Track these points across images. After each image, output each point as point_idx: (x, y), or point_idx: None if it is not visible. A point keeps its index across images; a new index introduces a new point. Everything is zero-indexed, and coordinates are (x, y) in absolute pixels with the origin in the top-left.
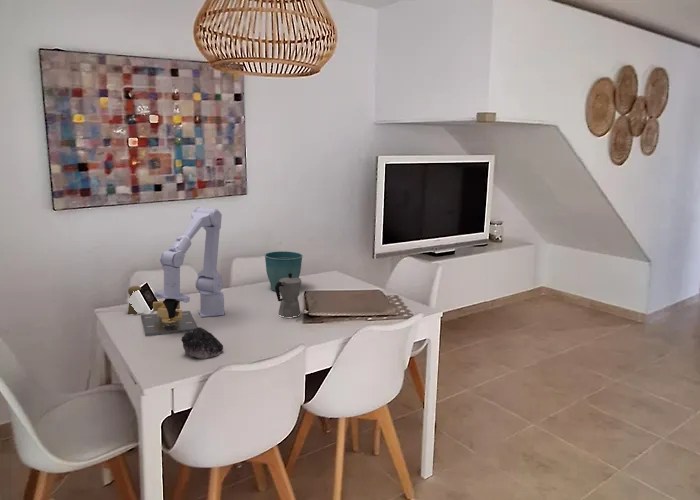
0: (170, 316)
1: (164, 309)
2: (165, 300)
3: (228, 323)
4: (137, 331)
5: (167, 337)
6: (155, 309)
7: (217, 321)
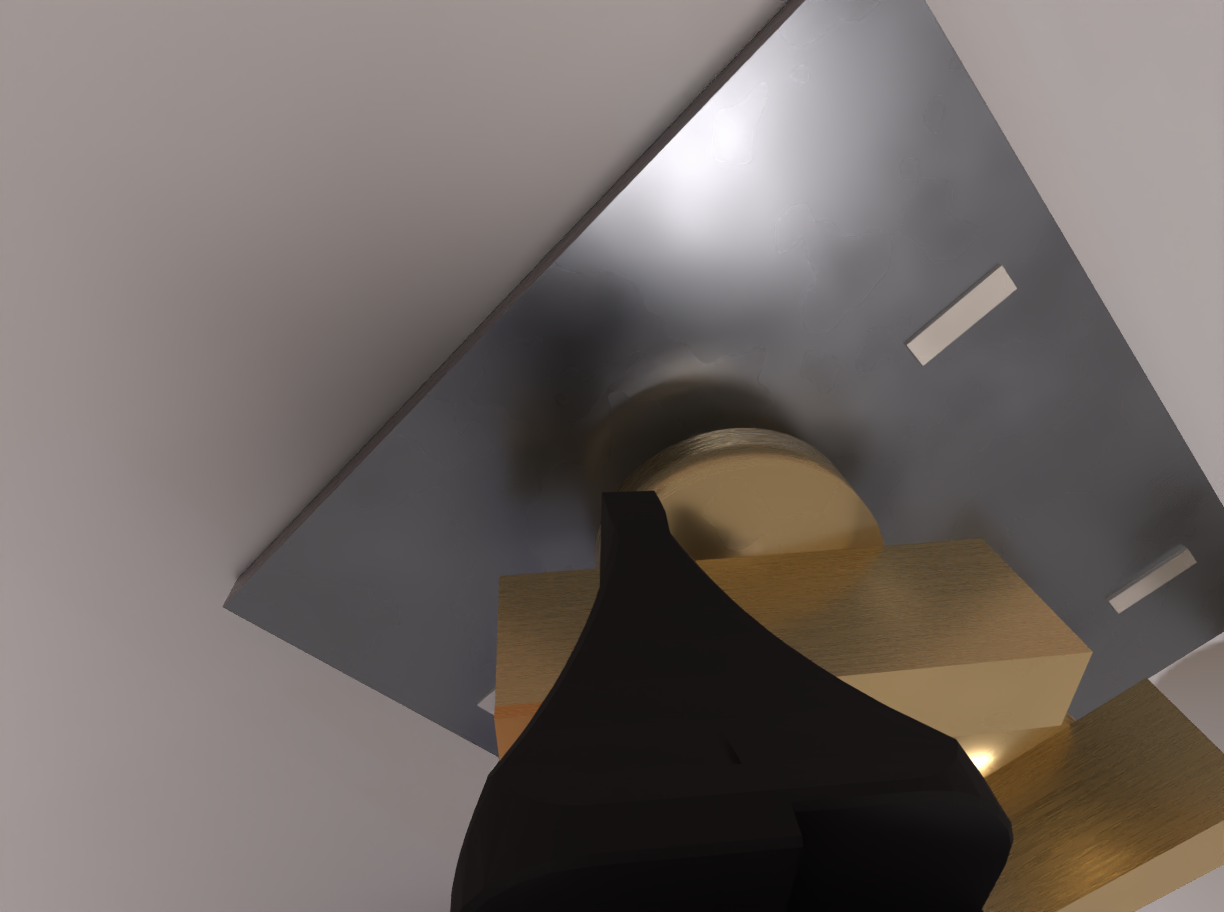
0: (607, 514)
1: (917, 684)
2: (932, 896)
3: (154, 888)
4: (1107, 103)
5: (424, 94)
6: (1141, 715)
7: (319, 871)
